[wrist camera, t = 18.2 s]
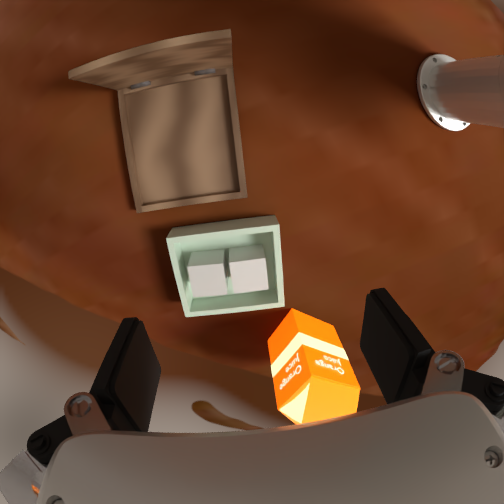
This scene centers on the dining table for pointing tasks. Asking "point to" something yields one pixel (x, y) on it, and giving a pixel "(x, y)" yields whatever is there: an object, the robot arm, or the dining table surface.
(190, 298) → the sage bin
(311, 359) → the orange juice
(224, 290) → the stone cube
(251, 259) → the stone cube
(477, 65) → the robot arm
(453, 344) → the dining table surface
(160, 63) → the brown hollow box
